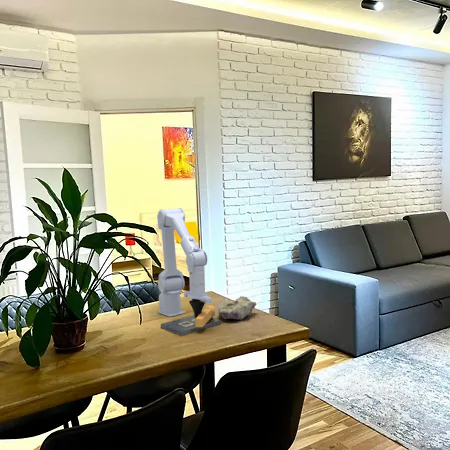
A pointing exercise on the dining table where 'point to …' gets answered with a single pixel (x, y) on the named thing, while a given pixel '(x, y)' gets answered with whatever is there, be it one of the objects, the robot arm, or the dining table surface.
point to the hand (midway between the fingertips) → (198, 318)
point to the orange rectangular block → (205, 316)
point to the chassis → (188, 325)
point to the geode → (236, 308)
